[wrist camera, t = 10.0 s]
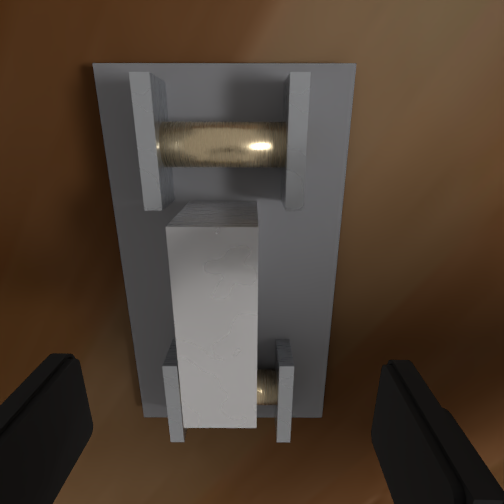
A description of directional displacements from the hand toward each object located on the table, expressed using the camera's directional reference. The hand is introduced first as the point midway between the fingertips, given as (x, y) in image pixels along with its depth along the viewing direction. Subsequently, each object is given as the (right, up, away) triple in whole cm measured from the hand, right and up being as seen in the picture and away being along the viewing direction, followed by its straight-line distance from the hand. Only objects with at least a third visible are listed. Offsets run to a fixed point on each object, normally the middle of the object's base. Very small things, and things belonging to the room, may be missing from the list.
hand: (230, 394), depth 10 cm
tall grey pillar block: (-1, +2, +9) cm, 9 cm away
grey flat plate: (-1, +3, +9) cm, 9 cm away
